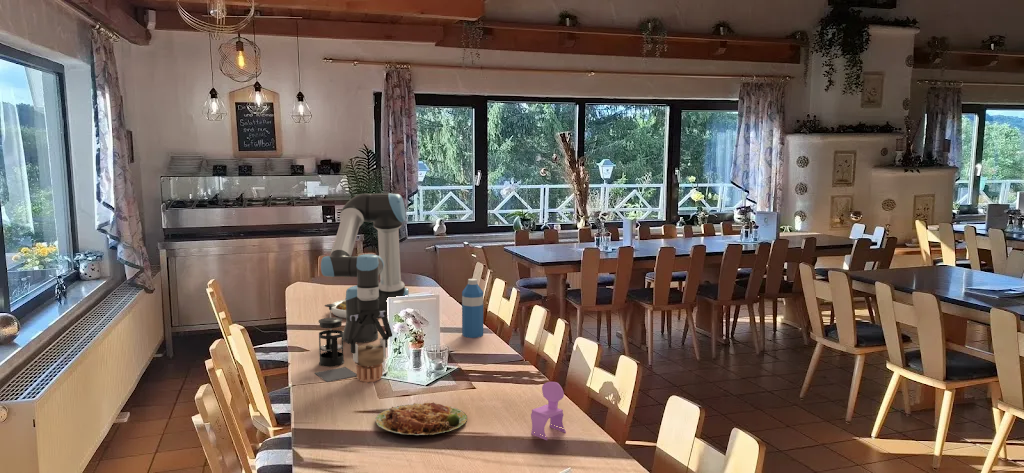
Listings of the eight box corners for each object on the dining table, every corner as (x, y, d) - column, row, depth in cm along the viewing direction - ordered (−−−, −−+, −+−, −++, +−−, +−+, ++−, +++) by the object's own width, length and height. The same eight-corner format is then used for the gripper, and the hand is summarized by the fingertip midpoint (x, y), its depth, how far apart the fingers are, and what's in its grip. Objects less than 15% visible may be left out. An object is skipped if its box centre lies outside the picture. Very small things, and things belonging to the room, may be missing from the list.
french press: (316, 360, 282) (314, 302, 279) (340, 357, 286) (338, 300, 283) (323, 369, 271) (321, 309, 268) (348, 365, 276) (346, 306, 273)
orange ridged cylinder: (352, 377, 262) (352, 364, 261) (375, 373, 267) (375, 359, 267) (363, 384, 255) (363, 370, 254) (386, 379, 260) (386, 366, 259)
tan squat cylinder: (350, 360, 261) (350, 345, 260) (376, 356, 267) (375, 340, 266) (362, 367, 253) (362, 351, 252) (388, 362, 259) (388, 346, 258)
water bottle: (482, 338, 316) (482, 281, 313) (461, 337, 316) (461, 281, 313) (483, 332, 326) (483, 277, 322) (463, 332, 326) (462, 277, 323)
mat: (314, 373, 266) (314, 372, 266) (345, 367, 273) (345, 366, 273) (327, 382, 257) (327, 381, 257) (358, 375, 264) (358, 375, 264)
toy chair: (527, 433, 212) (527, 384, 210) (547, 425, 218) (548, 377, 216) (548, 442, 206) (548, 391, 204) (568, 433, 212) (569, 384, 211)
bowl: (325, 310, 369) (325, 294, 368) (383, 305, 381) (383, 290, 380) (337, 323, 342) (336, 307, 341) (399, 317, 354) (399, 301, 353)
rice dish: (423, 403, 240) (423, 387, 239) (486, 420, 222) (485, 403, 222) (356, 429, 218) (355, 411, 218) (419, 449, 201) (418, 430, 200)
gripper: (342, 304, 248) (344, 367, 250) (401, 296, 261) (402, 356, 264) (333, 300, 254) (335, 362, 256) (392, 292, 267) (392, 351, 270)
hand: (369, 359), depth 260 cm, fingers closed on tan squat cylinder, 10 cm apart
